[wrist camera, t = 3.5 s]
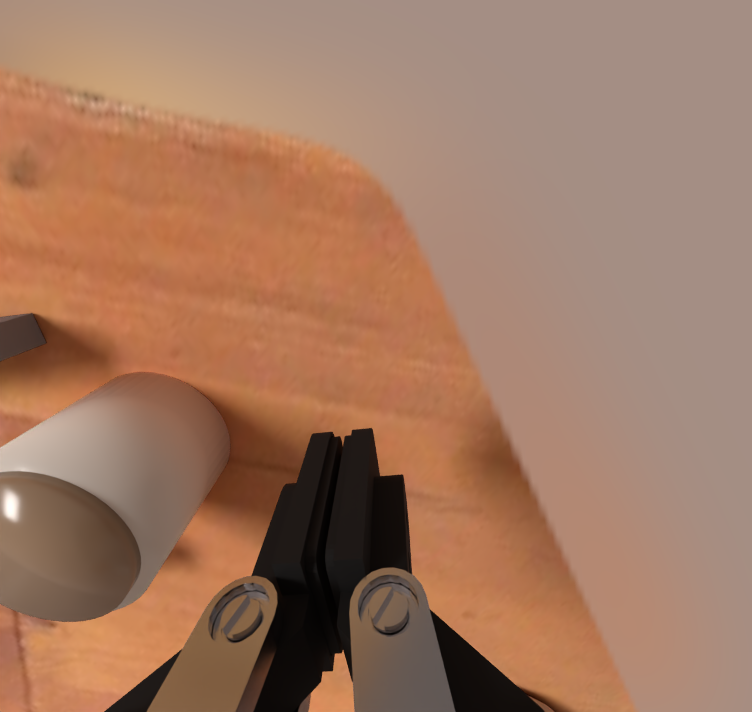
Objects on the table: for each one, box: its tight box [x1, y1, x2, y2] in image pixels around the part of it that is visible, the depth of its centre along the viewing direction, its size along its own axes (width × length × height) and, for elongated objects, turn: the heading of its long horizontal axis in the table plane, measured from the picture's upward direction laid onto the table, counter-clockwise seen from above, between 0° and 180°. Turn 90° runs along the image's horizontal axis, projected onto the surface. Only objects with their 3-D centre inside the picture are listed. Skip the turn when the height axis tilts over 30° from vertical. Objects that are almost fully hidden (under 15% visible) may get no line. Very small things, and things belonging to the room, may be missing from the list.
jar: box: [0, 372, 230, 622], centre depth 13 cm, size 6×6×6 cm
